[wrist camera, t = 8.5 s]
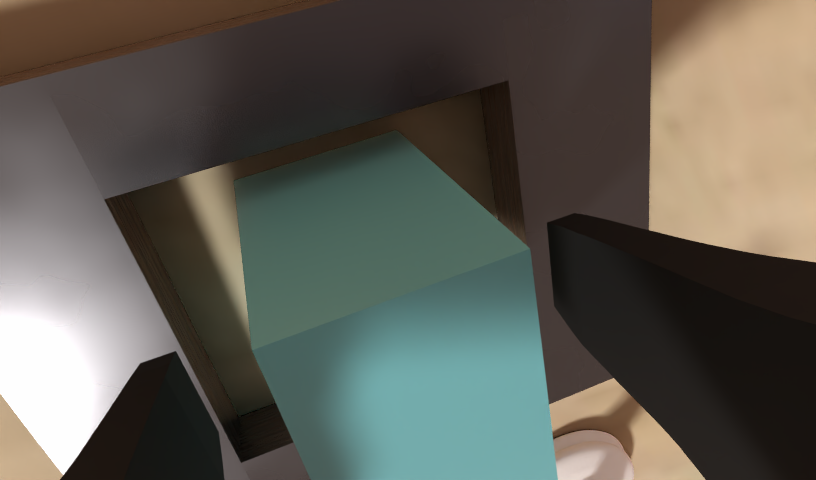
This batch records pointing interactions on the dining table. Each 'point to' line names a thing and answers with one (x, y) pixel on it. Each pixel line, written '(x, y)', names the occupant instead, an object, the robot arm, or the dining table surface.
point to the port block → (273, 128)
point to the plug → (393, 319)
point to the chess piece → (591, 457)
